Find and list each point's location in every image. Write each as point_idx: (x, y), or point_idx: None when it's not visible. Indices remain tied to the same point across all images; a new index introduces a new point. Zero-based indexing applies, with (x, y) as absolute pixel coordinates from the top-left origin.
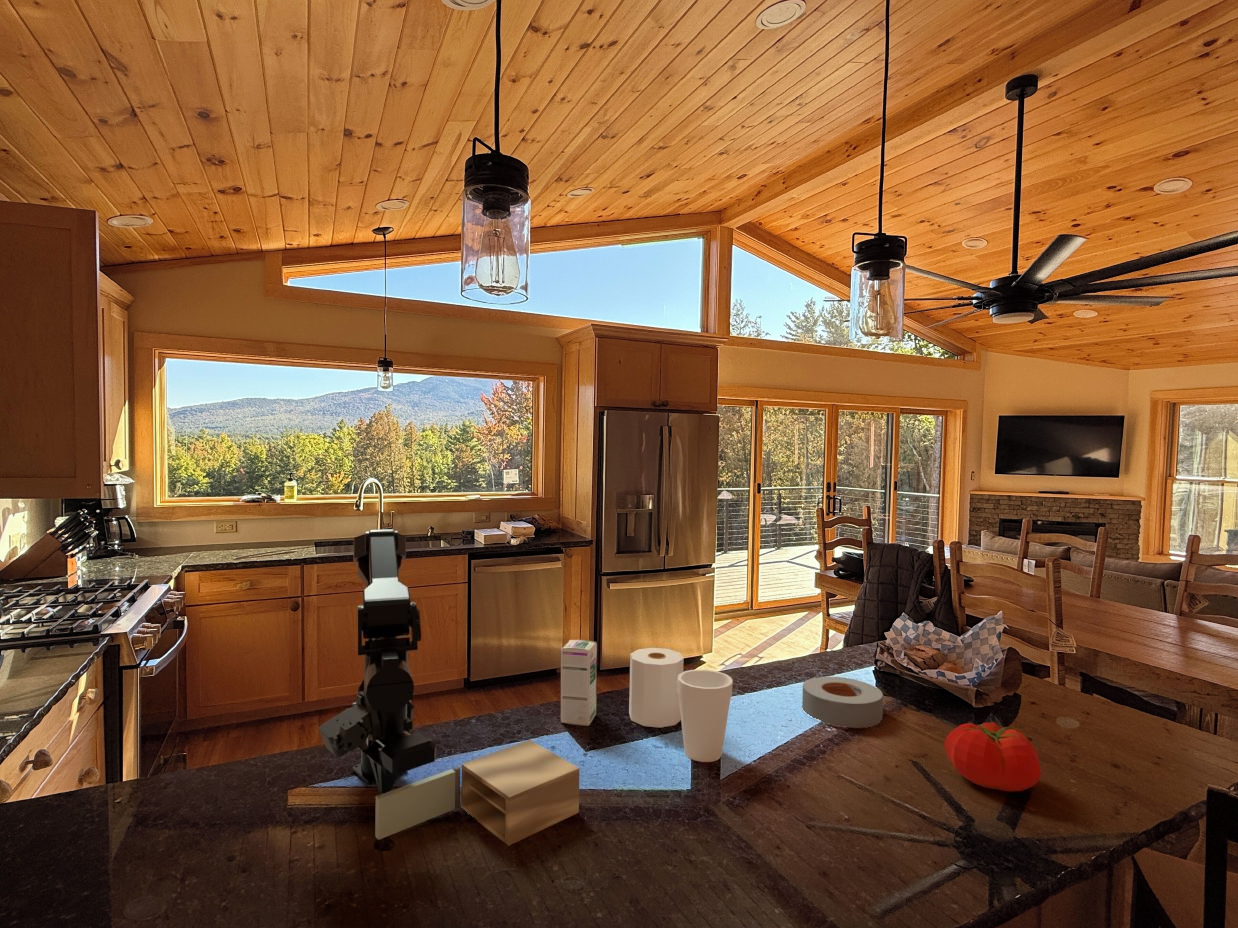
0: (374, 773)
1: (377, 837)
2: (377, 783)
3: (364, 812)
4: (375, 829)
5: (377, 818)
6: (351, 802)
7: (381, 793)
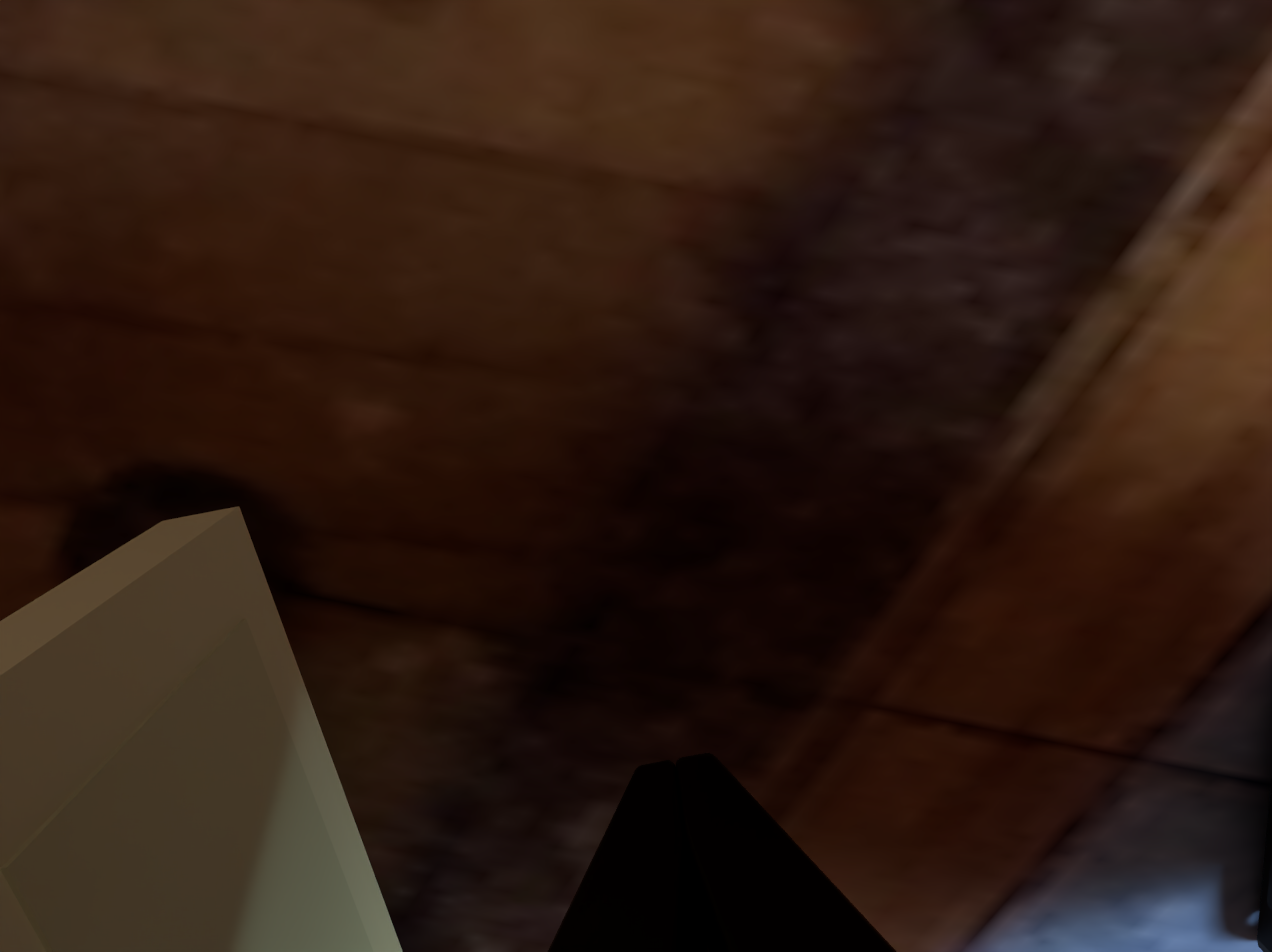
0: (849, 944)
1: (185, 520)
2: (750, 834)
3: (822, 506)
4: (198, 533)
5: (38, 613)
6: (1085, 434)
7: (640, 781)
